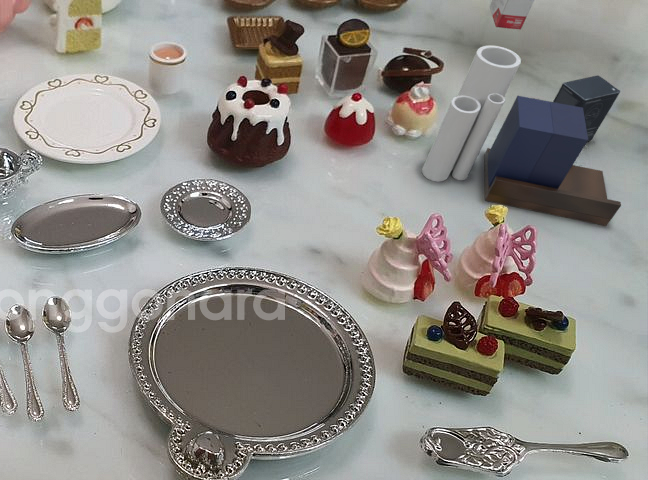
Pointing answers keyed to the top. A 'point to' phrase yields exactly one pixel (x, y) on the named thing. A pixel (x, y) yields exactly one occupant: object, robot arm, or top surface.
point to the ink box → (510, 12)
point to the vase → (471, 114)
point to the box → (589, 99)
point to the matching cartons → (538, 142)
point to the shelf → (557, 195)
